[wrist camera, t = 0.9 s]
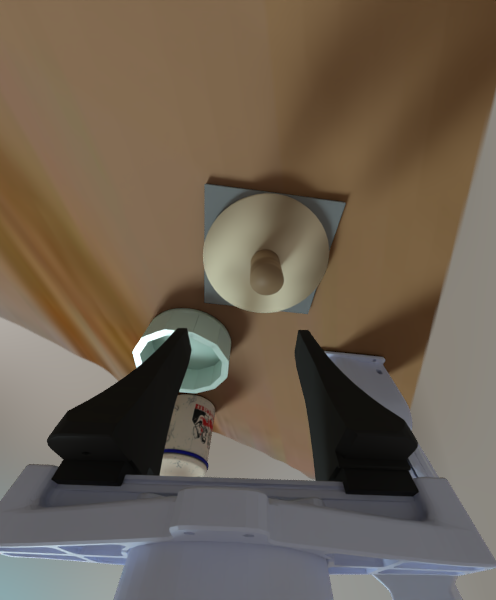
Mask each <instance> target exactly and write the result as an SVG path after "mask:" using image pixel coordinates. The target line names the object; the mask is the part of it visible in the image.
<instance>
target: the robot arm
mask: <svg viewBox="0 0 496 600" xmlns="http://www.w3.org/2000/svg"><path fill="white" fill-rule="evenodd" d="M191 352H192V349H191V344H190V339H189V334H188V330H187V328H177V329H176V330H175V331H174V332H173V333H172V334H171V336H170V337H169V338H168V339H167V340H166V341H165V342H164V343H163V344H162V345H161V346H160V347H159V348H158V349H157V350H156V351H155V352H154V353H153V354H152V355H151V356H150V357H149V358H148V359H146V360H145V361H144V362H143V363H142V364H141V365H140V366H138V367H137V368H136V369H135V370H133V371H132V372H131V373H130V374H128V375H127V376H126V377H124V378H123V379H121V380H120V381H118V382H117V383H116V384H114V385H113V386H111V387H110V388H108V389H106V390H105V391H103V392H102V393H100V394H98V395H97V396H95V397H93V398H91V399H90V400H88V401H86V402H84V403H83V404H81V405H78V406H77V407H75V408H73V409H71V410H69V411H68V412H67V413H66V414H65V415H64V417H63V418H62V419H61V421H60V422H59V423H58V425H57V426H56V427H55V429H54V430H53V432H52V433H51V434H50V436H49V437H48V439H47V443H48V446H49V447H50V448H51V449H52V450H53V451H54V452H55V453H57V454H58V455H59V456H60V457H61V458H62V459H64V460H63V461H62V463H61V464H60V466H59V467H57V466H53V465H39V464H29V465H27V466H26V467H25V469H24V470H23V471H22V473H21V474H20V475H19V477H18V478H17V479H16V481H15V482H14V484H13V485H12V486H11V487H10V489H9V490H8V492H7V493H6V494H5V496H4V497H3V498H2V500H1V501H0V554H2V555H6V556H9V557H26V558H43V559H57V560H70V561H81V562H93V563H105V564H117V565H124V568H123V572H122V575H121V578H120V581H119V584H118V587H117V590H116V594H115V597H114V600H333V594H332V589H331V583H330V577H329V574H371V575H373V576H374V577H375V578H376V579H377V580H378V581H380V582H381V583H382V584H383V585H384V586H385V587H386V588H387V589H388V590H389V592H390V594H391V596H392V599H393V600H463V599H462V597H461V595H460V593H459V591H458V589H457V587H456V585H455V582H456V579H457V577H458V576H460V575H465V574H470V573H475V572H480V571H484V570H489V569H494V568H496V560H495V559H494V557H493V555H492V554H491V552H490V551H489V549H488V547H487V545H486V544H485V542H484V540H483V539H482V537H481V535H480V534H479V532H478V531H477V529H476V527H475V525H474V524H473V522H472V520H471V519H470V517H469V515H468V514H467V512H466V510H465V509H464V507H463V505H462V504H461V502H460V500H459V498H458V497H457V495H456V494H455V492H454V490H453V489H452V487H451V485H450V483H449V482H448V480H447V479H445V478H439V477H438V475H437V473H436V472H435V470H434V468H433V467H432V465H431V463H430V461H429V460H428V458H427V456H426V455H425V453H424V452H423V450H422V449H421V447H420V445H419V444H418V442H417V440H416V438H415V436H414V435H413V433H412V417H411V413H410V410H409V407H408V405H407V403H406V401H405V399H404V398H403V396H402V395H401V393H400V391H399V390H398V388H397V386H396V385H395V383H394V382H393V380H392V378H391V377H390V375H389V374H388V372H387V370H386V369H385V367H384V365H383V363H384V362H385V359H384V357H379V356H369V355H359V354H349V353H340V352H330V351H323V350H322V348H321V347H320V346H319V344H318V343H317V342H316V340H315V339H314V337H313V336H312V335H311V333H310V332H309V331H308V330H298V335H297V341H296V347H295V360H296V367H297V371H298V375H299V379H300V383H301V387H302V391H303V395H304V399H305V403H306V408H307V415H308V421H309V428H310V435H311V443H312V451H313V459H314V468H315V477H316V481H304V480H274V479H271V480H270V479H244V478H242V479H241V478H212V477H184V476H160V470H161V465H162V459H163V454H164V449H165V445H166V440H167V435H168V431H169V426H170V422H171V418H172V414H173V410H174V406H175V402H176V399H177V396H178V393H179V390H180V388H181V385H182V382H183V379H184V377H185V374H186V371H187V368H188V365H189V361H190V356H191Z"/></svg>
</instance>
